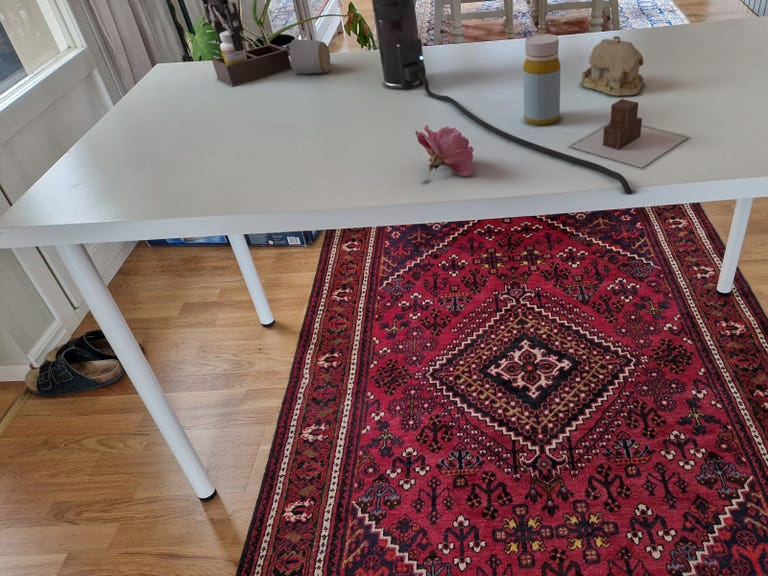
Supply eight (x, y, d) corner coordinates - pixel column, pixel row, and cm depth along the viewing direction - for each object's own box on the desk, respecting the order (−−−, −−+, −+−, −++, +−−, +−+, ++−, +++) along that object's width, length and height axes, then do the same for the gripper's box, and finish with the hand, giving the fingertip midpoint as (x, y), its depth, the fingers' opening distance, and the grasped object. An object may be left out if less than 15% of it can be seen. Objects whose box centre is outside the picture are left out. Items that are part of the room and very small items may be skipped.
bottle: (536, 129, 124) (535, 46, 114) (518, 118, 129) (516, 38, 119) (566, 120, 127) (568, 39, 117) (547, 110, 131) (547, 31, 121)
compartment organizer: (291, 68, 164) (287, 49, 161) (232, 86, 156) (226, 66, 153) (275, 62, 169) (271, 43, 166) (217, 79, 161) (211, 60, 158)
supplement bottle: (234, 71, 163) (222, 29, 156) (254, 71, 162) (242, 29, 155) (225, 78, 159) (212, 36, 152) (246, 78, 158) (233, 35, 151)
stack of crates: (641, 168, 109) (646, 128, 104) (571, 147, 117) (572, 109, 113) (686, 138, 117) (692, 100, 112) (617, 120, 125) (620, 84, 120)
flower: (452, 172, 120) (480, 126, 115) (459, 200, 113) (489, 153, 108) (397, 145, 115) (424, 96, 109) (402, 174, 108) (431, 123, 102)
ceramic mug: (325, 76, 157) (318, 43, 152) (293, 77, 158) (285, 44, 153) (337, 63, 165) (331, 31, 160) (307, 64, 166) (299, 32, 161)
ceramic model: (653, 83, 139) (659, 33, 132) (630, 99, 133) (635, 48, 126) (595, 74, 146) (598, 26, 139) (571, 89, 139) (572, 40, 133)
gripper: (238, -29, 143) (259, 48, 154) (211, -35, 151) (233, 39, 162) (206, -22, 139) (230, 56, 150) (180, -29, 148) (205, 46, 158)
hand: (231, 47), depth 156 cm, fingers open, 8 cm apart
